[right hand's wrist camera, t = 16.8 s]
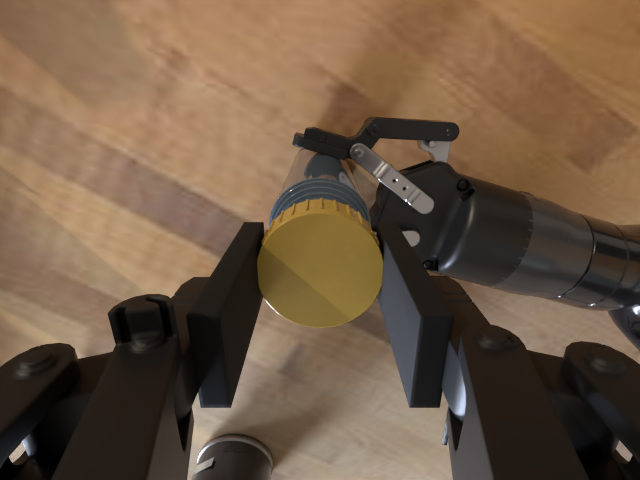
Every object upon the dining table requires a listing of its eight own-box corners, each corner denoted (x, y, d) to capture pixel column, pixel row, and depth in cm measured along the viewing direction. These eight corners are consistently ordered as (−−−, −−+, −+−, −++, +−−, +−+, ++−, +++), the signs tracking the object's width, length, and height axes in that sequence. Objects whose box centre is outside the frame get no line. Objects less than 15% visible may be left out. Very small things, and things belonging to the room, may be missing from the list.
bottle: (356, 186, 32) (404, 297, 14) (305, 206, 33) (287, 338, 14) (335, 133, 30) (359, 180, 12) (283, 156, 31) (229, 233, 13)
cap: (241, 269, 15) (231, 291, 13) (301, 173, 13) (299, 184, 11) (335, 321, 15) (337, 348, 14) (401, 238, 14) (412, 256, 12)
